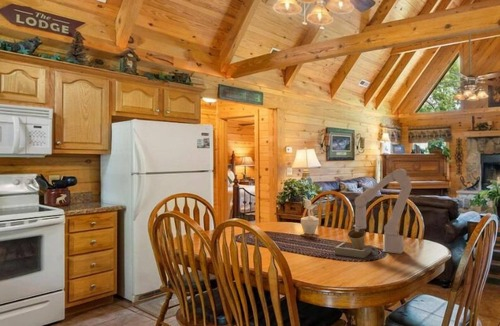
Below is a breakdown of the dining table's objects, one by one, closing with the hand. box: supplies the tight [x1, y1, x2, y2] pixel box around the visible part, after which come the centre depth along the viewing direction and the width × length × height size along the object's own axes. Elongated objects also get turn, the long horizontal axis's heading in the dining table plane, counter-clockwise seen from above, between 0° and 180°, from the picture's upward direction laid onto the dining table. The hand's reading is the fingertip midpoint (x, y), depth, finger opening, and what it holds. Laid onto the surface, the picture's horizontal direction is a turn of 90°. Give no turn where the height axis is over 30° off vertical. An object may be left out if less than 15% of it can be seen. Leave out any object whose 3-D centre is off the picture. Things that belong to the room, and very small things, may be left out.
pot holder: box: [334, 241, 372, 259], centre depth 196 cm, size 15×14×4 cm
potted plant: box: [300, 197, 320, 235], centre depth 246 cm, size 13×12×25 cm
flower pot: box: [347, 228, 366, 250], centre depth 204 cm, size 9×9×9 cm
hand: (360, 242), depth 208 cm, fingers closed
